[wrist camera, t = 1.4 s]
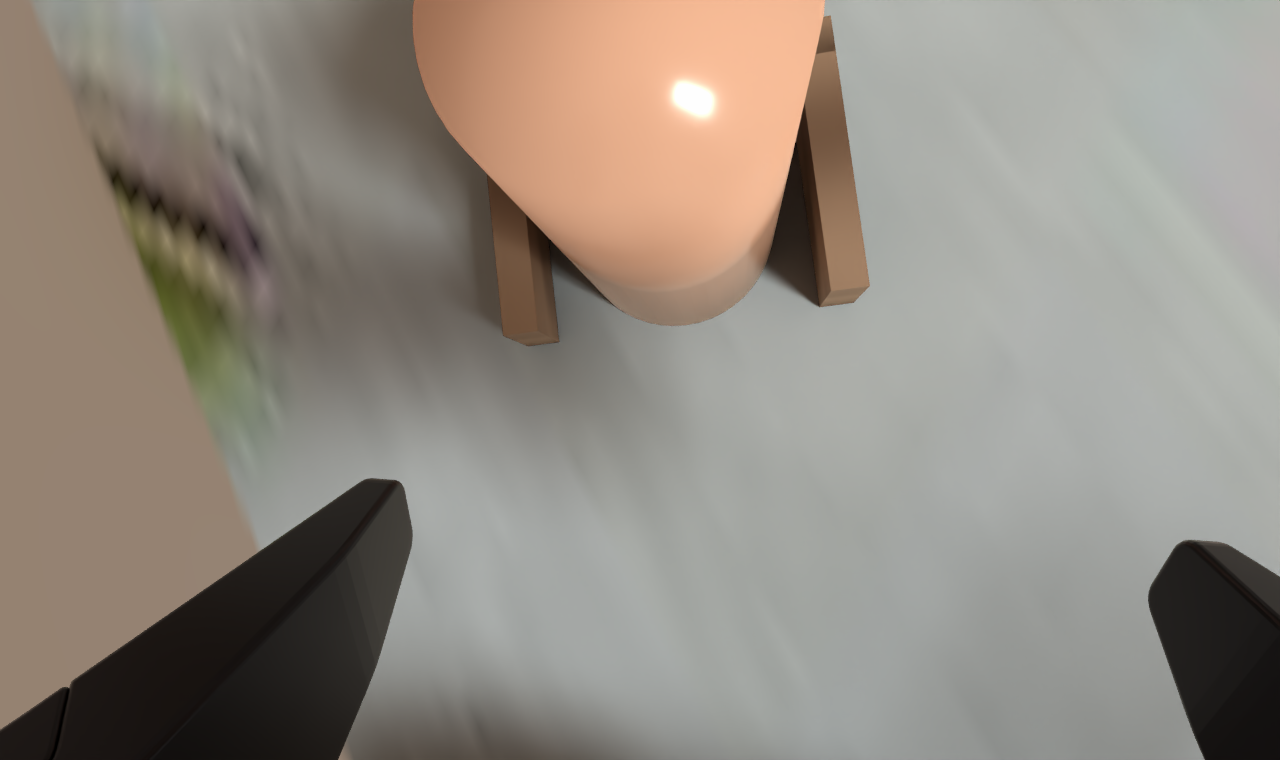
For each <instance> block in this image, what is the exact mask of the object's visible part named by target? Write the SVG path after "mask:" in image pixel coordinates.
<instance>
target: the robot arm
mask: <svg viewBox="0 0 1280 760" xmlns="http://www.w3.org/2000/svg"><path fill="white" fill-rule="evenodd" d="M412 537H413V533H412V525H411V520H410V515H409V510H408V505H407V500H406V495H405V490H404V487H403V485H402V484H401V483H400V482H399V481H396V480H388V479H374V478H370V479H365V480H363V481H361V482H360V483H358V484H357V485H355V486H354V487H352V488H351V489H349V490H348V491H346V492H345V493H344V494H342V495H341V496H339V497H338V498H336V499H335V500H333V501H332V502H331V503H329V504H328V505H326V506H325V507H323V508H322V509H320V510H319V511H318V512H316V513H315V514H313V515H312V516H310V517H309V518H307V519H306V520H304V521H303V522H302V523H300V524H299V525H297V526H296V527H294V528H293V529H291V530H290V531H289V532H287V533H286V534H284V535H283V536H281V537H280V538H278V539H277V540H275V541H274V542H273V543H271V544H270V545H268V546H267V547H265V548H264V549H262V550H261V551H260V552H258V553H257V554H255V555H254V556H252V557H251V558H249V559H248V560H247V561H245V562H244V563H242V564H241V565H240V566H238V567H236V568H235V569H234V570H232V571H231V572H229V573H228V574H226V575H225V576H223V577H222V578H221V579H219V580H218V581H216V582H215V583H213V584H212V585H210V586H209V587H208V588H206V589H204V590H203V591H202V592H200V593H199V594H197V595H196V596H194V597H193V598H191V599H190V600H189V601H187V602H186V603H184V604H183V605H181V606H180V607H178V608H177V609H176V610H174V611H173V612H171V613H170V614H168V615H167V616H165V617H164V618H162V619H161V620H160V621H158V622H157V623H155V624H154V625H152V626H151V627H149V628H148V629H147V630H145V631H144V632H142V633H141V634H140V635H138V636H136V637H135V638H134V639H132V640H131V641H129V642H128V643H126V644H125V645H124V646H122V647H120V648H119V649H118V650H116V651H115V652H113V653H112V654H110V655H109V656H108V657H106V658H105V659H103V660H102V661H100V662H99V663H97V664H96V665H94V666H93V667H91V668H90V669H89V670H87V671H86V672H84V673H83V674H81V675H80V676H78V677H77V678H76V679H74V680H73V681H72V682H71V684H70V688H68V687H63V688H61V689H59V690H58V691H56V692H55V693H54V694H52V695H50V696H49V697H48V698H46V699H45V700H43V701H42V702H40V703H39V704H37V705H36V706H35V707H33V708H32V709H30V710H29V711H27V712H26V713H24V714H23V715H21V716H20V717H19V718H17V719H15V720H14V721H12V722H11V723H9V724H8V725H6V726H5V727H3V728H2V729H1V730H0V760H338V758H339V756H340V754H341V751H342V749H343V746H344V744H345V742H346V739H347V737H348V734H349V732H350V730H351V727H352V725H353V722H354V720H355V718H356V715H357V713H358V710H359V708H360V706H361V703H362V701H363V698H364V696H365V694H366V691H367V689H368V686H369V684H370V681H371V679H372V676H373V674H374V671H375V668H376V666H377V662H378V659H379V656H380V653H381V650H382V647H383V643H384V640H385V636H386V633H387V629H388V626H389V623H390V619H391V616H392V612H393V609H394V605H395V602H396V599H397V595H398V592H399V588H400V585H401V581H402V578H403V575H404V571H405V568H406V564H407V561H408V557H409V554H410V550H411V546H412ZM1148 602H1149V608H1150V612H1151V615H1152V618H1153V621H1154V623H1155V626H1156V629H1157V632H1158V635H1159V638H1160V641H1161V643H1162V646H1163V649H1164V652H1165V655H1166V658H1167V661H1168V663H1169V666H1170V669H1171V672H1172V675H1173V678H1174V681H1175V683H1176V686H1177V689H1178V692H1179V695H1180V698H1181V701H1182V704H1183V706H1184V709H1185V712H1186V715H1187V718H1188V720H1189V723H1190V726H1191V728H1192V731H1193V733H1194V736H1195V739H1196V741H1197V743H1198V745H1199V748H1200V750H1201V752H1202V755H1203V757H1204V759H1205V760H1280V577H1279V576H1278V575H1276V574H1275V573H1273V572H1271V571H1270V570H1268V569H1267V568H1265V567H1263V566H1262V565H1260V564H1259V563H1257V562H1255V561H1254V560H1252V559H1250V558H1249V557H1247V556H1246V555H1244V554H1242V553H1241V552H1239V551H1238V550H1236V549H1234V548H1233V547H1231V546H1229V545H1227V544H1224V543H1221V542H1213V541H1200V540H1185V541H1182V542H1181V543H1179V544H1178V545H1176V546H1175V548H1174V549H1173V551H1172V552H1171V554H1170V556H1169V557H1168V559H1167V560H1166V562H1165V564H1164V565H1163V567H1162V568H1161V570H1160V572H1159V573H1158V575H1157V577H1156V578H1155V580H1154V581H1153V583H1152V585H1151V587H1150V590H1149V595H1148Z"/></svg>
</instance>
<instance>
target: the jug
mask: <svg viewBox="0 0 1280 760" xmlns="http://www.w3.org/2000/svg"><path fill="white" fill-rule="evenodd" d="M824 3H825V0H414V4H413V40H414V46H415V52H416V59H417V64H418V68H419V71H420V74H421V77H422V81H423V84H424V87H425V90H426V92H427V94H428V96H429V98H430V100H431V103H432V105H433V107H434V109H435V111H436V113H437V114H438V116H439V117H440V119H441V120H442V122H443V123H444V125H445V127H446V128H447V130H448V131H449V133H450V134H451V135H452V136H453V137H454V138H455V140H456V141H457V142H458V143H459V144H460V145H461V146H462V148H463V149H464V150H465V151H466V152H467V153H468V154H469V155H470V156H471V157H472V158H473V159H474V161H475V162H476V163H477V164H478V165H479V166H480V167H481V168H482V169H483V170H484V171H485V172H486V173H487V174H488V175H489V176H490V177H491V178H492V179H493V180H494V181H495V182H496V184H497V185H498V186H499V187H500V188H501V189H502V190H503V191H504V192H505V193H506V194H507V195H508V196H509V197H510V198H511V199H512V200H513V201H514V202H515V203H516V204H517V205H518V207H519V208H520V209H521V210H522V211H523V212H524V213H525V214H526V215H527V216H528V217H529V218H530V219H531V220H532V221H533V222H534V223H535V224H536V225H537V226H538V227H539V229H540V230H541V231H542V232H543V233H544V234H545V235H546V236H547V237H548V238H549V239H550V240H551V241H552V242H553V243H554V244H555V245H556V246H557V247H558V248H559V249H560V250H561V252H562V253H563V254H564V255H565V256H566V257H567V258H568V259H569V260H570V261H571V262H572V263H573V264H574V265H575V266H576V267H577V268H578V269H579V270H580V271H581V272H582V273H583V275H584V276H585V277H586V278H587V279H588V280H589V281H590V282H591V283H592V284H593V285H594V286H595V287H596V288H597V289H598V290H599V291H600V292H601V293H602V294H603V295H604V296H605V298H606V299H608V300H609V301H610V302H611V303H612V304H613V305H614V306H616V307H617V308H619V309H620V310H622V311H623V312H625V313H626V314H628V315H630V316H632V317H634V318H636V319H639V320H642V321H645V322H648V323H653V324H658V325H666V326H681V325H690V324H695V323H699V322H702V321H705V320H708V319H711V318H713V317H715V316H717V315H719V314H722V313H723V312H725V311H726V310H728V309H730V308H731V307H733V306H734V305H735V304H736V303H738V302H739V301H740V300H741V299H742V298H743V297H744V296H745V295H746V294H747V293H748V292H749V291H750V290H751V288H752V287H753V286H754V284H755V283H756V282H757V280H758V279H759V277H760V275H761V273H762V271H763V269H764V267H765V265H766V263H767V260H768V257H769V254H770V251H771V246H772V242H773V238H774V233H775V229H776V224H777V220H778V216H779V211H780V207H781V203H782V198H783V194H784V189H785V185H786V181H787V176H788V172H789V168H790V163H791V159H792V155H793V150H794V146H795V141H796V137H797V133H798V128H799V124H800V120H801V115H802V111H803V107H804V102H805V98H806V93H807V89H808V85H809V80H810V76H811V72H812V67H813V63H814V59H815V54H816V50H817V45H818V41H819V36H820V31H821V26H822V21H823V17H824Z"/></svg>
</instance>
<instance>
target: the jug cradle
mask: <svg viewBox="0 0 1280 760" xmlns="http://www.w3.org/2000/svg"><path fill="white" fill-rule="evenodd" d="M796 142H797V149H798V156H799V163H800V170H801V178H802V185H803V192H804V199H805V207H806V214H807V221H808V228H809V235H810V243H811V250H812V257H813V264H814V271H815V279H816V286H817V293H818V300H819V307H824V306H832V305H839V304H846V303H854V302H855V301H856V300H857V298H858V297H859V296H860V295H861V294H862V293H863V292H864V291H865V290H866V289H867V288H868V287H869V286H870V284H869V277H868V270H867V263H866V257H865V250H864V243H863V236H862V229H861V222H860V215H859V208H858V201H857V194H856V188H855V181H854V174H853V167H852V160H851V153H850V146H849V139H848V132H847V126H846V119H845V112H844V105H843V98H842V91H841V84H840V77H839V70H838V63H837V57H836V50H835V43H834V36H833V29H832V22H831V16H825V17H823V21H822V26H821V31H820V36H819V41H818V45H817V50H816V54H815V59H814V63H813V67H812V72H811V76H810V80H809V85H808V89H807V93H806V98H805V102H804V107H803V111H802V115H801V120H800V124H799V128H798V133H797V137H796ZM487 180H488V190H489V200H490V210H491V220H492V229H493V239H494V249H495V259H496V269H497V279H498V289H499V299H500V309H501V319H502V329H503V336H505V337H507V338H510V339H512V340H514V341H517V342H519V343H522V344H524V345H526V346H533V345H541V344H548V343H556V342H559V336H558V326H557V317H556V308H555V298H554V289H553V280H552V270H551V261H550V252H549V242H548V237H547V236H546V235H545V234H544V233H543V232H542V231H541V230H540V229H539V227H538V226H537V225H536V224H535V223H534V222H533V221H532V220H531V219H530V218H529V217H528V216H527V215H526V214H525V213H524V212H523V211H522V210H521V209H520V208H519V207H518V205H517V204H516V203H515V202H514V201H513V200H512V199H511V198H510V197H509V196H508V195H507V194H506V193H505V192H504V191H503V190H502V189H501V188H500V187H499V186H498V185H497V184H496V182H495V181H494V180H493V179H492V178H491V177H490V176H489V175H488V174H487Z"/></svg>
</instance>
